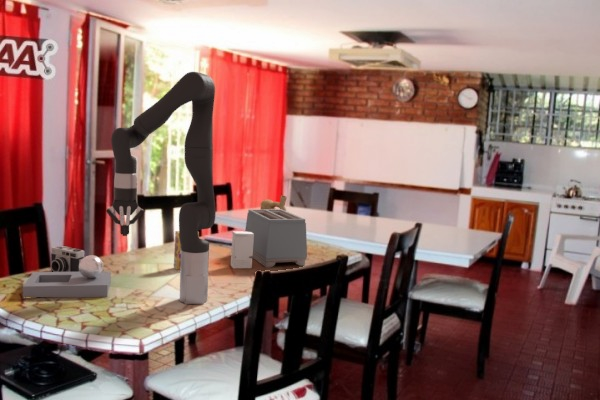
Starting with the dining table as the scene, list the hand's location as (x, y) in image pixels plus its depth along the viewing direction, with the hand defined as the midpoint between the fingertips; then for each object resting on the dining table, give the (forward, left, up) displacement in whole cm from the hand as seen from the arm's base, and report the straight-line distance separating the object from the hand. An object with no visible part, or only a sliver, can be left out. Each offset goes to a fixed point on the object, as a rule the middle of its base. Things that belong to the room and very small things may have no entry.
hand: (124, 235), depth 202 cm
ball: (0, +11, -11) cm, 16 cm away
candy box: (+28, -23, -19) cm, 41 cm away
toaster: (+45, -62, -19) cm, 79 cm away
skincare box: (+29, -46, -19) cm, 58 cm away
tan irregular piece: (+78, -69, -19) cm, 106 cm away
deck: (0, +18, -19) cm, 26 cm away
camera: (+22, +23, -19) cm, 37 cm away
